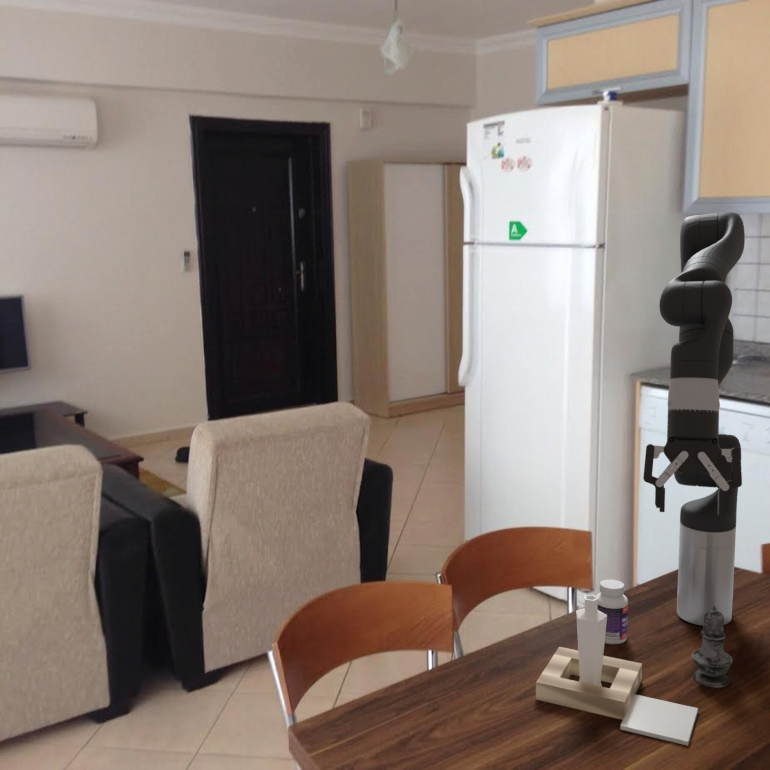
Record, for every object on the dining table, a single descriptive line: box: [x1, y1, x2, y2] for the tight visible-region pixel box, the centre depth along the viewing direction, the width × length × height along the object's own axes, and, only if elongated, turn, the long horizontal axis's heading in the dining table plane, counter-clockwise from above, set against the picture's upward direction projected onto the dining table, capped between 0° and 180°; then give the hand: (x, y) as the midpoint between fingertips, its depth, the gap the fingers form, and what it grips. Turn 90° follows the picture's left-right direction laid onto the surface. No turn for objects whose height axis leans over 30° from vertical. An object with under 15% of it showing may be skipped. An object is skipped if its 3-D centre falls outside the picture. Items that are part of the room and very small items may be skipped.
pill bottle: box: [596, 579, 629, 645], centre depth 146 cm, size 5×5×10 cm
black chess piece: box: [691, 606, 734, 689], centre depth 132 cm, size 6×6×12 cm
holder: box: [535, 646, 643, 721], centre depth 130 cm, size 12×13×3 cm
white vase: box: [575, 594, 607, 687], centre depth 129 cm, size 5×4×15 cm
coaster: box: [620, 693, 699, 746], centre depth 122 cm, size 9×9×1 cm
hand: (690, 513), depth 133 cm, fingers open, 8 cm apart
